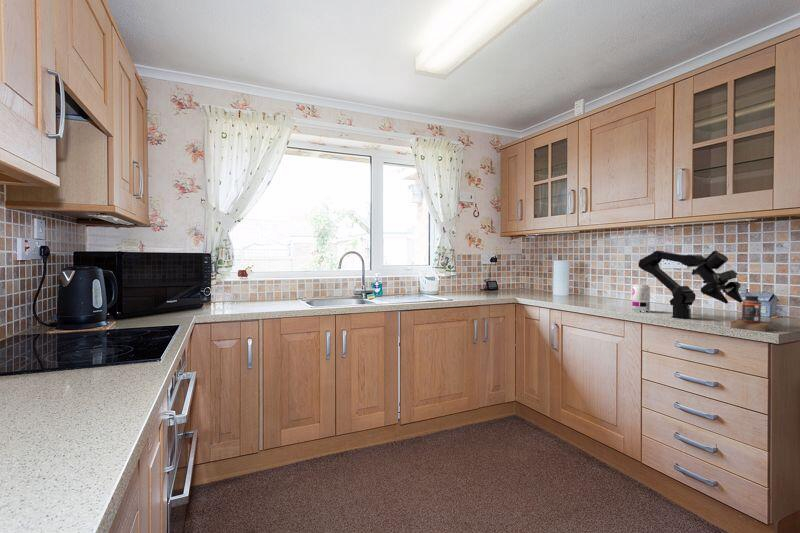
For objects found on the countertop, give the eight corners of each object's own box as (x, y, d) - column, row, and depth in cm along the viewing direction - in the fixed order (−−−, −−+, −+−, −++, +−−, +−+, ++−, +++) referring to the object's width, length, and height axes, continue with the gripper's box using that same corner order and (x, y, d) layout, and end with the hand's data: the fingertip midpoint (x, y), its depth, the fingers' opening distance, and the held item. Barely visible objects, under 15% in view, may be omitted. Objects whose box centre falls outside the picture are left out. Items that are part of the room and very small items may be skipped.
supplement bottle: (762, 323, 165) (762, 296, 165) (743, 322, 168) (744, 295, 168) (758, 321, 170) (759, 295, 170) (740, 320, 173) (741, 294, 173)
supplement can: (630, 311, 220) (631, 284, 219) (634, 310, 226) (634, 283, 226) (647, 312, 214) (648, 285, 214) (650, 311, 221) (651, 284, 220)
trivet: (730, 327, 170) (731, 321, 170) (739, 325, 177) (739, 319, 177) (765, 331, 161) (765, 324, 161) (772, 328, 168) (772, 322, 168)
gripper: (708, 264, 176) (735, 291, 166) (736, 264, 182) (764, 290, 172) (689, 280, 184) (714, 307, 174) (717, 279, 190) (743, 305, 180)
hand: (734, 302), depth 175 cm, fingers open, 9 cm apart
